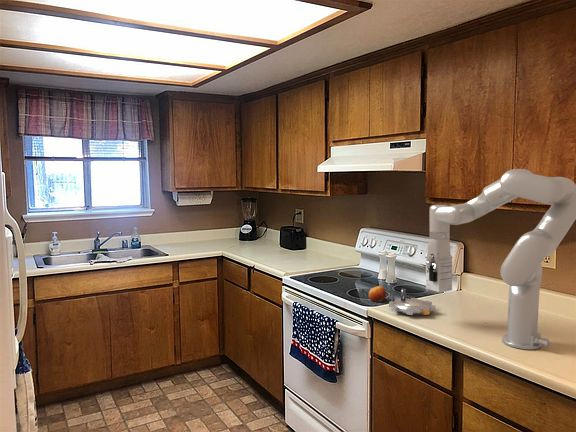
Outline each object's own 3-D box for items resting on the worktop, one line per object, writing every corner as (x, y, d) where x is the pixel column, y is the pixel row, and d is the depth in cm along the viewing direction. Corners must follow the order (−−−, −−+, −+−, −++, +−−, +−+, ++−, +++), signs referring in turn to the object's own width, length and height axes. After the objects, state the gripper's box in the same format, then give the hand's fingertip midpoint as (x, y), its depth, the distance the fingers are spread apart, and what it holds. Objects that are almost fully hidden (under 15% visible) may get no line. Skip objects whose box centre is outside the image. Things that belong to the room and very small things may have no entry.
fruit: (386, 301, 212) (378, 285, 213) (372, 308, 216) (363, 292, 217) (391, 297, 219) (383, 281, 220) (378, 303, 223) (369, 288, 224)
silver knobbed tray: (415, 299, 213) (415, 285, 213) (445, 311, 196) (445, 295, 195) (380, 305, 206) (380, 289, 205) (408, 317, 188) (408, 301, 187)
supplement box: (425, 289, 187) (425, 258, 186) (439, 286, 190) (439, 256, 189) (438, 292, 180) (438, 260, 179) (452, 290, 183) (452, 258, 182)
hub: (428, 312, 200) (428, 309, 200) (414, 316, 194) (414, 314, 194) (409, 306, 208) (409, 304, 208) (395, 311, 202) (395, 308, 201)
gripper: (443, 233, 191) (443, 274, 193) (418, 237, 181) (418, 281, 182) (460, 234, 186) (460, 277, 187) (435, 239, 175) (435, 284, 176)
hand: (439, 279), depth 185 cm, fingers closed on supplement box, 8 cm apart
